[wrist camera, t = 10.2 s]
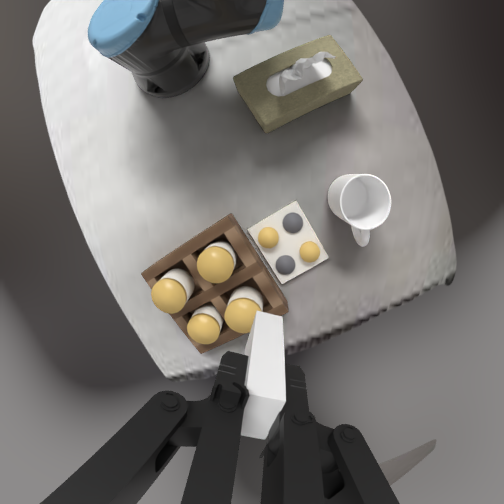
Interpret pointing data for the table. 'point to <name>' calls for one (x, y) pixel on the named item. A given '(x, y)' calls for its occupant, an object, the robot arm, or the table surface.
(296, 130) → the table surface
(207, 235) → the board
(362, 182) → the mug
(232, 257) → the button
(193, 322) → the button
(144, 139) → the table surface
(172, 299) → the button
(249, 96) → the tissue box
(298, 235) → the card
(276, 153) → the table surface
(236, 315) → the button
